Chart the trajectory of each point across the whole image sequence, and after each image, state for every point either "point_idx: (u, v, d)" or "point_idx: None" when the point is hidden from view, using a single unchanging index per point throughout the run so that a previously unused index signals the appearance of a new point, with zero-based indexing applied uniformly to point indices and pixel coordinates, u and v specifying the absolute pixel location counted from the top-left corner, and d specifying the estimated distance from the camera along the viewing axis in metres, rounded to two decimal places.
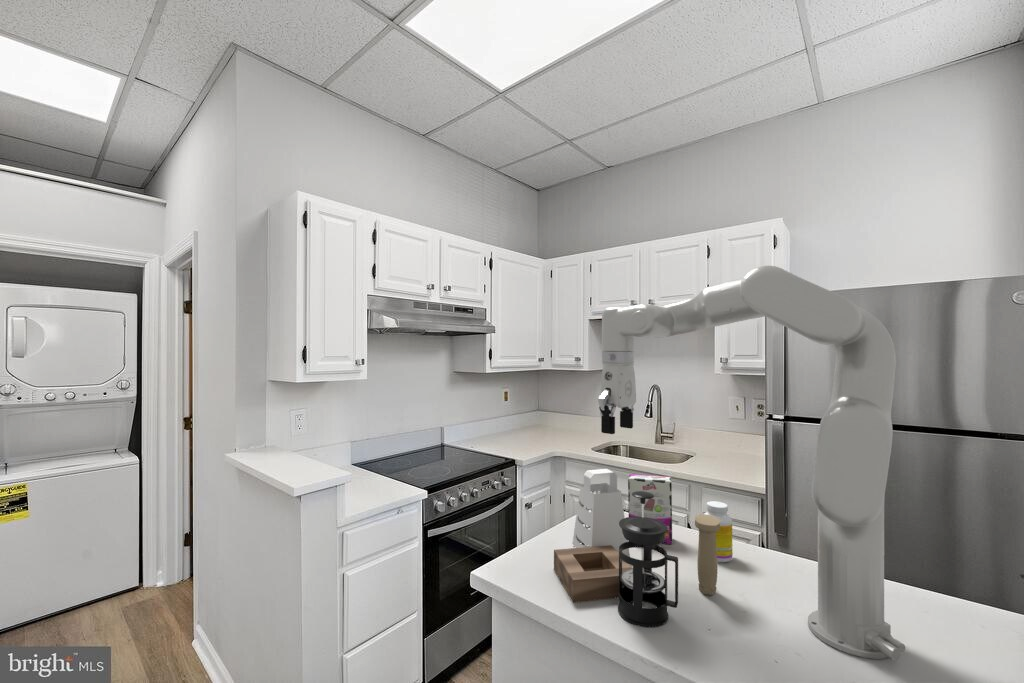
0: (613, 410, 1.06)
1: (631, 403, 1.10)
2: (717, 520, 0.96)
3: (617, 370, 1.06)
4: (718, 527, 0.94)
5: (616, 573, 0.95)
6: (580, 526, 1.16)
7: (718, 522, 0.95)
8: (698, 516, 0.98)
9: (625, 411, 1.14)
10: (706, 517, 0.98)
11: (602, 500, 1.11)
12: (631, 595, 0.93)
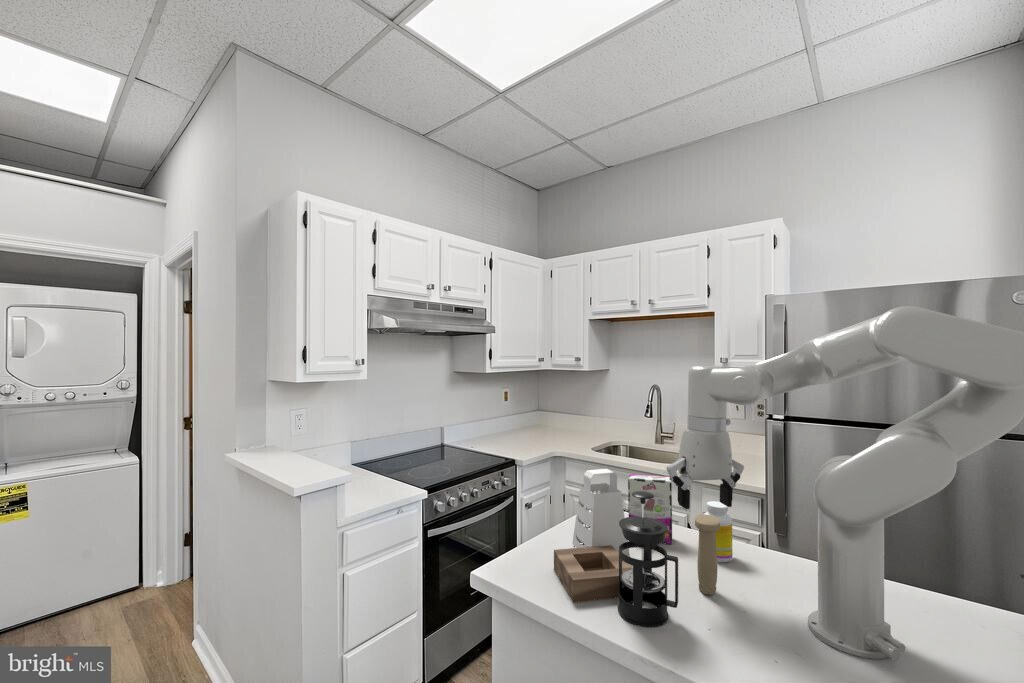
0: None
1: None
2: (717, 520, 0.96)
3: None
4: (718, 527, 0.94)
5: (616, 573, 0.95)
6: (580, 526, 1.16)
7: (718, 522, 0.95)
8: (698, 516, 0.98)
9: None
10: (706, 517, 0.98)
11: (602, 500, 1.11)
12: (631, 595, 0.93)
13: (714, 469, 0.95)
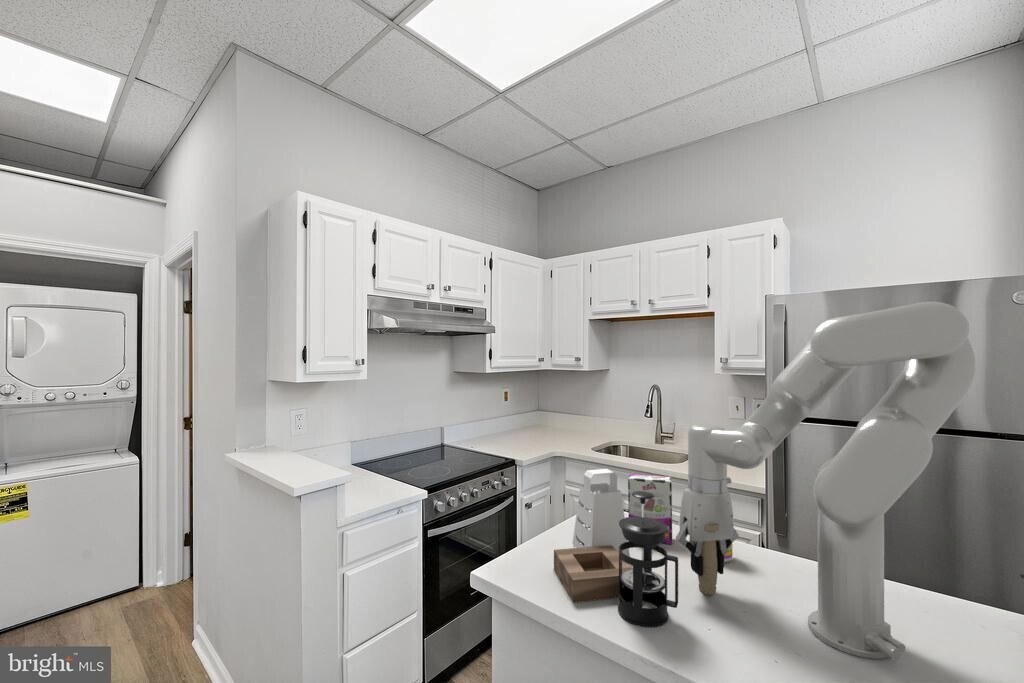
0: None
1: None
2: None
3: None
4: (718, 527, 0.94)
5: (616, 573, 0.95)
6: (580, 526, 1.16)
7: None
8: None
9: None
10: None
11: (602, 500, 1.11)
12: (631, 595, 0.93)
13: None
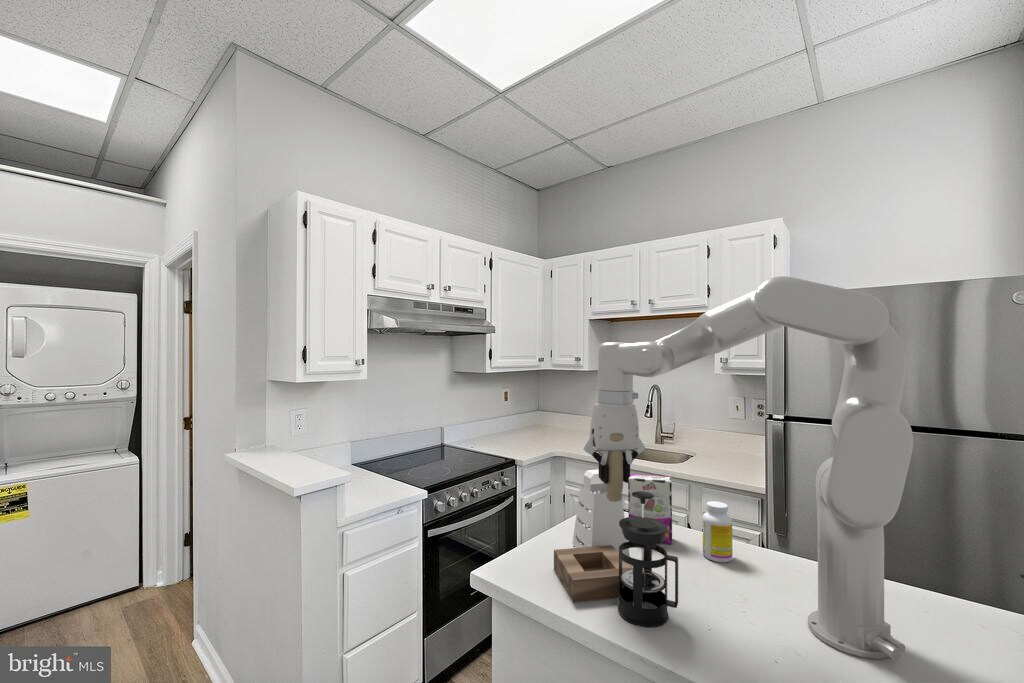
0: None
1: None
2: None
3: None
4: (622, 437, 0.99)
5: (616, 573, 0.95)
6: (580, 526, 1.16)
7: None
8: None
9: None
10: None
11: (602, 500, 1.11)
12: (631, 595, 0.93)
13: None
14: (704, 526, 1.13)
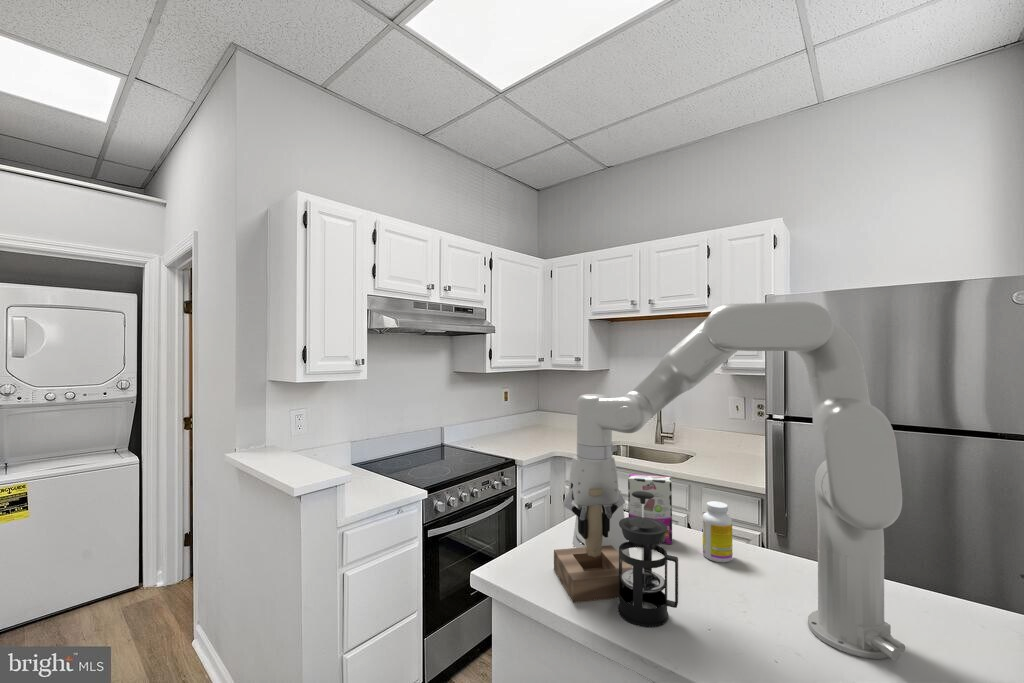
0: None
1: None
2: None
3: None
4: (601, 491, 0.98)
5: (616, 573, 0.95)
6: None
7: None
8: None
9: None
10: None
11: None
12: (631, 595, 0.93)
13: None
14: (704, 526, 1.13)
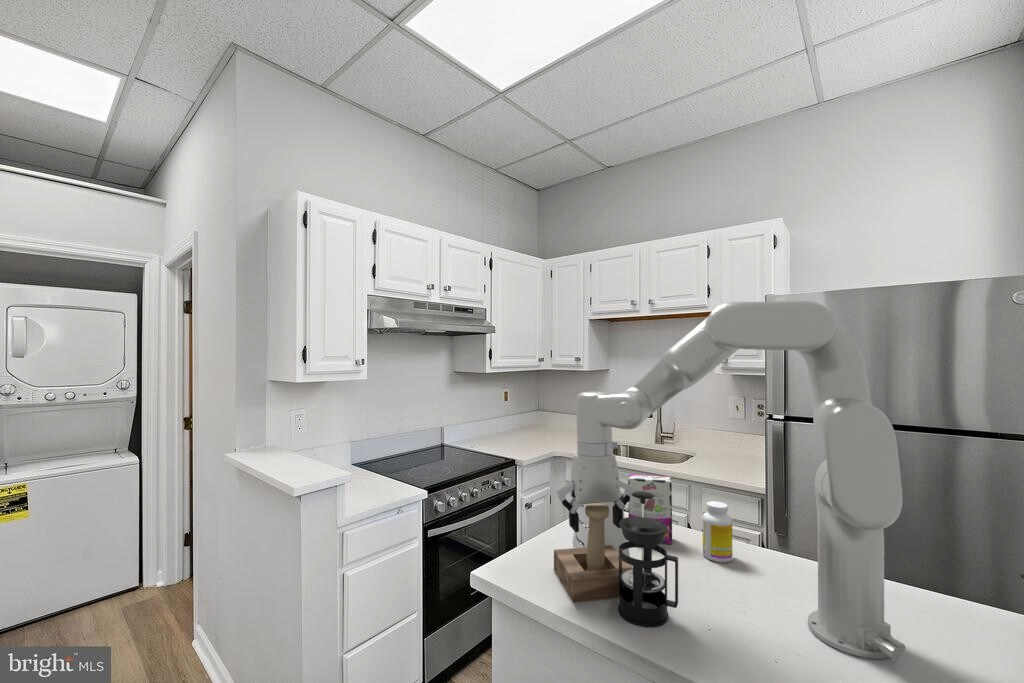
0: None
1: None
2: (606, 508, 1.00)
3: None
4: (605, 515, 0.98)
5: (616, 573, 0.95)
6: (580, 526, 1.16)
7: (606, 510, 0.99)
8: (590, 504, 1.02)
9: None
10: (598, 505, 1.02)
11: None
12: (631, 595, 0.93)
13: (601, 492, 0.98)
14: (704, 526, 1.13)
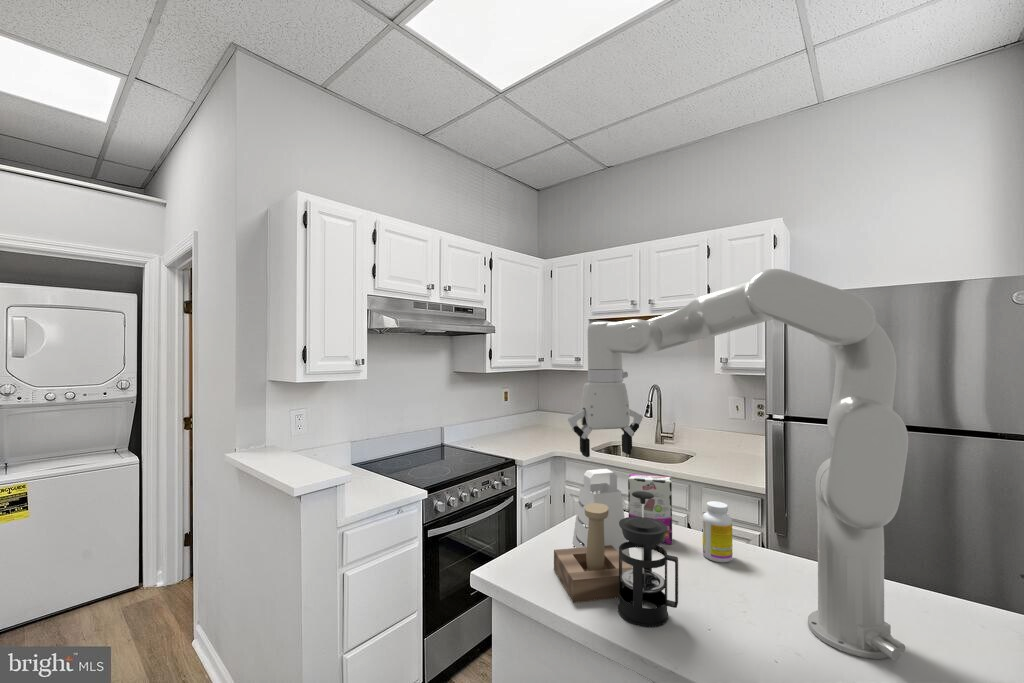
0: None
1: None
2: (605, 508, 1.00)
3: None
4: (604, 515, 0.98)
5: (616, 573, 0.95)
6: (580, 526, 1.16)
7: (605, 510, 0.99)
8: (589, 505, 1.02)
9: None
10: (597, 505, 1.02)
11: (602, 500, 1.11)
12: (631, 595, 0.93)
13: (612, 418, 1.00)
14: (704, 526, 1.13)
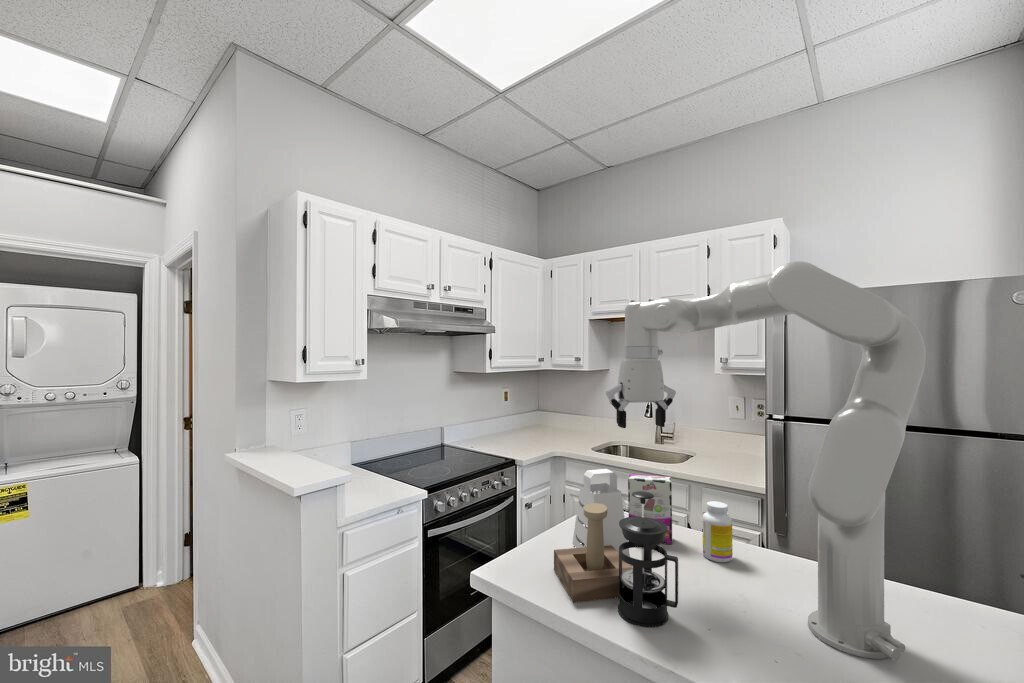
0: None
1: None
2: (604, 508, 1.00)
3: None
4: (603, 515, 0.98)
5: (616, 573, 0.95)
6: (580, 526, 1.15)
7: (604, 510, 0.99)
8: (588, 505, 1.02)
9: None
10: (596, 505, 1.02)
11: (602, 500, 1.11)
12: (631, 595, 0.93)
13: (647, 392, 1.07)
14: (704, 526, 1.13)
